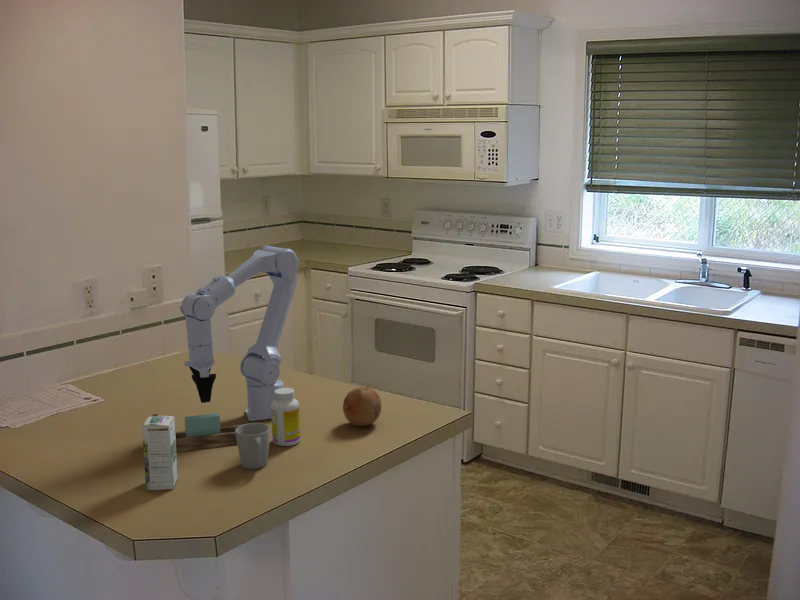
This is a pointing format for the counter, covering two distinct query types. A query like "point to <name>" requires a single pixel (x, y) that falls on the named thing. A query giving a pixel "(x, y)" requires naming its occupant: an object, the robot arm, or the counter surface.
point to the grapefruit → (362, 406)
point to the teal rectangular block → (202, 425)
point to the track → (206, 439)
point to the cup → (253, 444)
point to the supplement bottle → (285, 418)
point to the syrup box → (160, 453)
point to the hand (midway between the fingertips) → (204, 396)
